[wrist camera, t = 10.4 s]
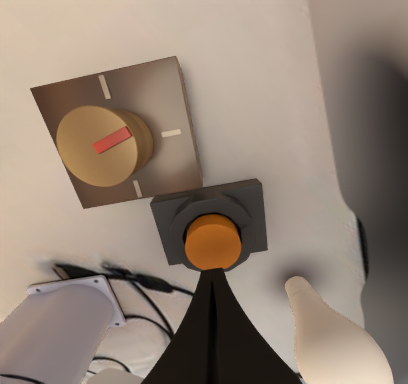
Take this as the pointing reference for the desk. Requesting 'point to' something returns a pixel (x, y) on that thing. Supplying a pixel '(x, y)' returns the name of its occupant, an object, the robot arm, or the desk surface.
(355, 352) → the lightbulb
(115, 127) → the dimmer knob
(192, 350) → the robot arm
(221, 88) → the desk surface
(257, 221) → the switch block
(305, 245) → the desk surface
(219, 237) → the power button
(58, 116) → the dimmer console
